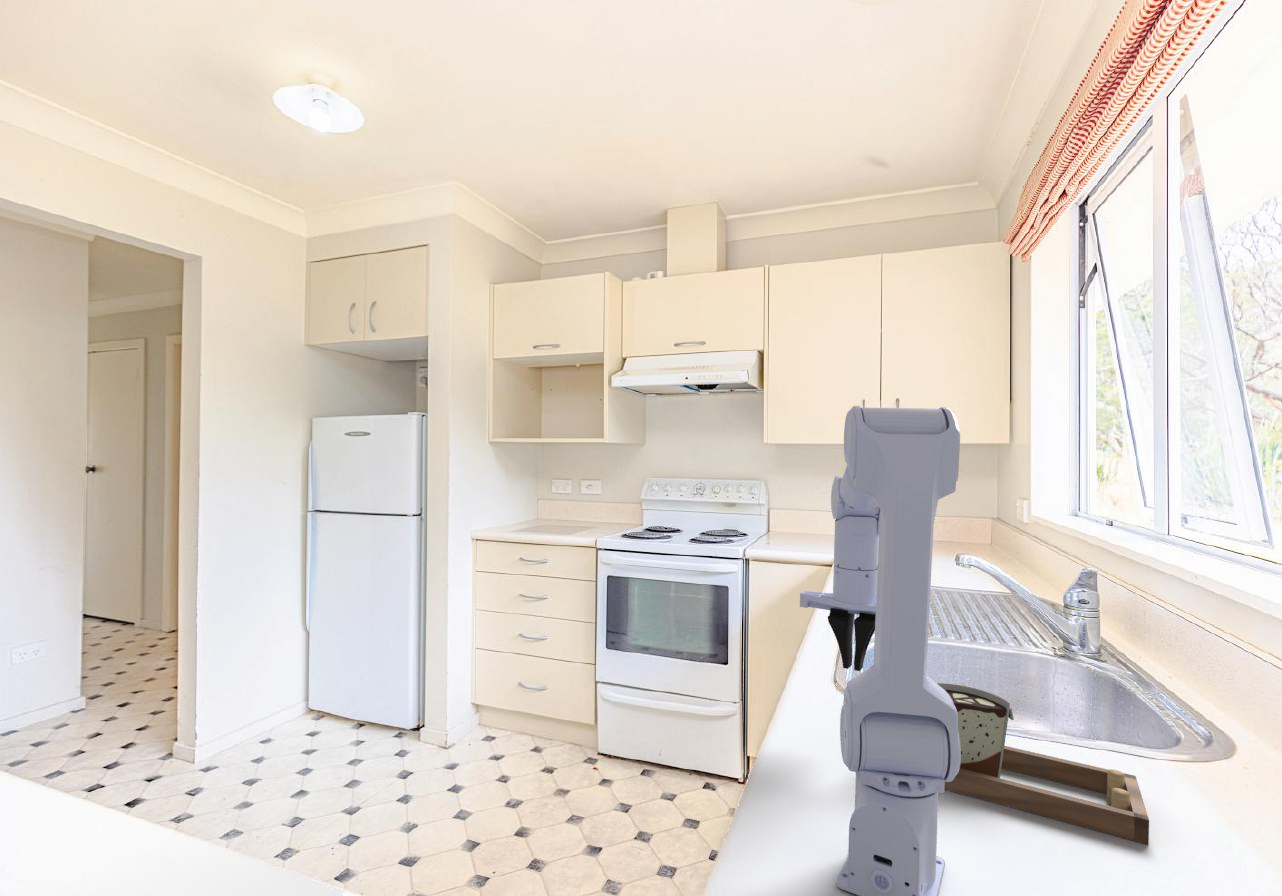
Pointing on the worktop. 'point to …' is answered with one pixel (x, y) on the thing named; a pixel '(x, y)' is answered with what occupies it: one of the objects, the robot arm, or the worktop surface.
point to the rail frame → (1120, 788)
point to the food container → (980, 727)
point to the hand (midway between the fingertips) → (853, 667)
